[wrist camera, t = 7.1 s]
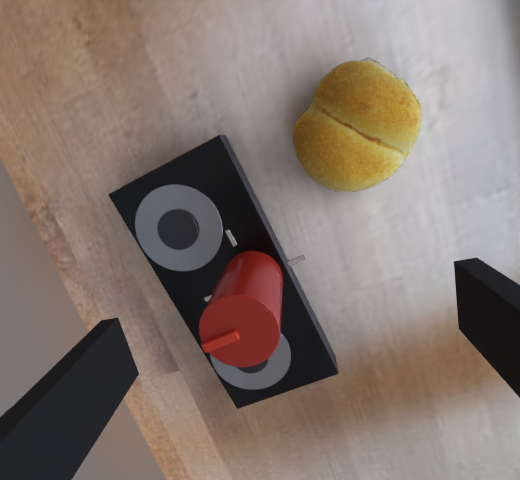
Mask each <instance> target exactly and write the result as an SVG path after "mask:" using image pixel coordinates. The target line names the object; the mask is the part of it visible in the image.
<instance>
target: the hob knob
mask: <svg viewBox="0 0 520 480" xmlns="http://www.w3.org/2000/svg"><path fill="white" fill-rule="evenodd" d="M282 289H283V275H282V271H281V269H280V267H279V265H278V264H277V262H276V261H275V260H274V259H273V258H272V257H270V256H269V255H267V254H265V253H262V252H258V251H246V252H242V253H239V254H238V255H236V256H234V257H233V258H232V259H231V260H230V261H229V262H228V264H227V266H226V267H225V269H224V271H223V273H222V275H221V278H220V280H219V282H218V284H217V286H216V288H215V290H214V292H213V294H212V296H211V298H210V300H209V302H208V304H207V306H206V308H205V310H204V312H203V314H202V316H201V318H200V323H199V334H200V338H201V341H202V345H201V346H202V348H203V350H204V351H205V353H207V352H209V353H210V354H211V355H212V356H213V357H214V358H215V359H217V360H218V361H220V362H222V363H224V364H227V365H230V366H235V367H250V366H254V365H257V364H260V363H262V362H264V361H265V360H267V359H268V358H269V357H270V356H271V355H272V354H273V353H274V351H275V350H276V348H277V346H278V344H279V341H280V331H281V310H282Z"/></svg>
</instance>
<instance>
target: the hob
mask: <svg viewBox="0 0 520 480" xmlns="http://www.w3.org/2000/svg"><path fill="white" fill-rule="evenodd" d="M170 184H182V185H187V186H191V187H193V188H196V189H198V190H199V191H201V192H203V193H204V194H205V195H207V196H208V197H209V198H210V199H211V200H212V202H213V203H214V204H215V206H216V207H217V209H218V211H219V213H220V215H221V218H222V222H223V240H222V244H221V246H220V249H219V250H218V252H217V254H216V255H215V256H214V258H213V259H212V260H211V261H210V262H208V263H207V264H206V265H204V266H202V267H200V268H198V269H195V270H191V271H175V270H171V269H168V268H165V267H163V266H161V265H159V264H157V263H156V262H155V261H153V260H152V259H151V258H150V257H149V256H148V255H147V254H146V253H145V251H144V250H143V249H142V247H141V245H140V243H139V241H138V238H137V235H136V230H135V218H136V213H137V210H138V208H139V205H140V204H141V202H142V201H143V199H144V198H145V197H146V196H147V195H148V194H149V193H150V192H152V191H153V190H155V189H157V188H159V187H162V186H165V185H170ZM109 197H110V198H111V200H112V202H113V203H114V205H115V207H116V208H117V210H118V212H119V213H120V215H121V217H122V218H123V220H124V222H125V223H126V225H127V227H128V228H129V230H130V232H131V233H132V235H133V236H134V238H135V240H136V241H137V243H138V245H139V246H140V248H141V250H142V251H143V253H144V255H145V256H146V258H147V260H148V261H149V263H150V265H151V266H152V268H153V270H154V271H155V273H156V275H157V276H158V278H159V280H160V281H161V283H162V285H163V286H164V288H165V290H166V291H167V293H168V295H169V296H170V298H171V300H172V301H173V303H174V305H175V306H176V308H177V310H178V311H179V313H180V314H181V316H182V318H183V319H184V321H185V323H186V324H187V326H188V328H189V329H190V331H191V333H192V334H193V336H194V338H195V339H196V341H197V343H198V344H199V346H200V348H201V349H202V351H203V353H204V354H205V356H206V358H207V359H208V361H209V363H210V364H211V366H212V368H213V369H214V371H215V373H216V374H217V376H218V378H219V379H220V381H221V383H222V384H223V386H224V388H225V389H226V391H227V393H228V394H229V396H230V397H231V399H232V401H233V402H234V404H235V406H236V407H237V409H238V408H241V407H244V406H247V405H249V404H252V403H255V402H258V401H261V400H264V399H267V398H270V397H272V396H275V395H278V394H281V393H284V392H287V391H290V390H293V389H295V388H298V387H301V386H304V385H307V384H310V383H313V382H316V381H318V380H321V379H324V378H327V377H330V376H333V375H336V374H338V373H339V372H338V367H337V362H336V357H335V354H334V352H333V350H332V348H331V346H330V344H329V342H328V340H327V338H326V336H325V334H324V332H323V330H322V328H321V326H320V324H319V322H318V320H317V318H316V316H315V314H314V312H313V310H312V308H311V306H310V304H309V302H308V300H307V298H306V296H305V294H304V292H303V290H302V288H301V286H300V284H299V282H298V280H297V278H296V276H295V274H294V272H293V270H292V268H291V266H290V265H293V264H295V263H297V262H300V261H302V260H304V259H305V257H304V255H301V256H299V257H297V258H294V259H292V260H290V261H288V260H287V258H286V256H285V254H284V252H283V250H282V248H281V246H280V244H279V242H278V240H277V238H276V236H275V234H274V232H273V230H272V228H271V226H270V224H269V222H268V220H267V218H266V216H265V214H264V211H263V209H262V207H261V205H260V203H259V201H258V199H257V197H256V195H255V193H254V191H253V189H252V187H251V185H250V183H249V181H248V179H247V177H246V175H245V173H244V171H243V169H242V167H241V165H240V163H239V161H238V159H237V157H236V155H235V153H234V151H233V149H232V147H231V145H230V143H229V141H228V139H227V137H226V135H218V136H217V137H215V138H213V139H211V140H209V141H207V142H205V143H203V144H202V145H200V146H198V147H196V148H194V149H192V150H190V151H189V152H187V153H185V154H183V155H181V156H179V157H177V158H176V159H174V160H172V161H170V162H168V163H166V164H164V165H162V166H161V167H159V168H157V169H155V170H153V171H151V172H149V173H148V174H146V175H144V176H142V177H140V178H138V179H136V180H134V181H133V182H131V183H129V184H127V185H125V186H123V187H121V188H120V189H118V190H116V191H114V192H112V193H110V194H109ZM246 251H258V252H262V253H265V254H267V255H269V256H270V257H272V258H273V259H274V260H275V261H276V262H277V264H278V265H279V267H280V269H281V271H282V275H283V289H282V310H281V332H282V334H283V335H284V336H285V338H286V339H287V341H288V343H289V346H290V351H291V361H290V365H289V368H288V370H287V372H286V374H285V375H284V376H283V377H282V378H281V380H279V381H278V382H277V383H275V384H273V385H272V386H269V387H266V388H263V389H254V390H252V389H243V388H239V387H237V386H234V385H232V384H230V383H228V382H227V381H225V380H224V379H223V378H222V377H221V376H220V375H219V374H218V373H217V371H216V370H215V368H214V366H213V364H212V361H211V357H210V353H209V352H207V353H205V351H204V350H203V348H202V346H201V345H202V341H201V338H200V334H199V323H200V318H201V316H202V314H203V312H204V310H205V308H206V306H207V304H208V302H209V300H210V298H211V296H212V294H213V292H214V290H215V288H216V286H217V284H218V282H219V280H220V278H221V275H222V273H223V271H224V269H225V267H226V266H227V264H228V262H229V261H230V260H231V259H232V258H233V257H234V256H236V255H238V254H239V253H242V252H246Z"/></svg>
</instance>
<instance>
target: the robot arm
mask: <svg viewBox="0 0 520 480" xmlns="http://www.w3.org/2000/svg"><path fill="white" fill-rule="evenodd" d="M454 268H455V281H456V295H457V309H458V323H459V329H460V331H461V332H462V333H463V334H464V335H465V336H466V337H467V338H468V340H469V341H470V342H471V343H472V344H473V345H474V346H475V348H476V349H477V350H478V351H479V352H480V353H481V354H482V355H483V357H484V358H485V359H486V360H487V361H488V362H489V363H490V364H491V366H492V367H493V368H494V369H495V370H496V371H497V372H498V373H499V375H500V376H501V377H502V378H503V379H504V380H505V381H506V383H507V384H508V385H509V386H510V387H511V388H512V389H513V390H514V392H515V393H516V394H517V395H518V396H519V397H520V285H519V284H517V283H515V282H514V281H512V280H511V279H509V278H508V277H506V276H505V275H503V274H501V273H500V272H498V271H497V270H495V269H494V268H492V267H491V266H489V265H487V264H486V263H484V262H483V261H481V260H480V259H478V258H472V259H466V260H460V261H454ZM138 374H139V373H138V370H137V367H136V365H135V362H134V359H133V357H132V354H131V351H130V348H129V346H128V343H127V340H126V338H125V335H124V332H123V330H122V327H121V324H120V322H119V319H118V318H113V319H107V320H101V321H100V322H99V323H98V324H97V325H96V326H95V327H94V328H93V329H92V330H91V331H90V332H89V333H88V334H87V335H86V336H85V337H84V338H83V339H82V340H81V341H80V342H79V343H78V344H77V345H76V346H74V347H73V348H72V349H71V350H70V352H68V353H67V354H66V355H65V356H64V357H63V358H62V359H61V360H60V361H59V362H58V363H57V364H56V365H55V366H54V367H53V368H52V369H51V370H50V371H49V372H48V373H47V374H46V375H45V376H44V377H43V378H42V379H40V381H39V382H38V383H36V384H35V385H34V386H33V387H32V388H31V389H30V390H29V391H28V392H27V393H26V394H25V395H24V396H23V397H22V398H21V399H20V400H19V401H18V402H17V403H16V404H15V405H14V406H13V407H11V408H10V409H9V410H7V411H6V412H5V413H4V414H3V415H2V416H1V417H0V480H71V479H72V478H73V476H74V475H75V473H76V472H77V470H78V468H79V467H80V465H81V464H82V462H83V461H84V459H85V457H86V456H87V454H88V453H89V451H90V450H91V448H92V447H93V445H94V443H95V442H96V440H97V439H98V437H99V436H100V434H101V432H102V431H103V429H104V428H105V426H106V425H107V423H108V421H109V420H110V418H111V417H112V415H113V414H114V412H115V410H116V409H117V407H118V406H119V404H120V403H121V401H122V400H123V398H124V396H125V395H126V393H127V392H128V390H129V389H130V387H131V385H132V384H133V382H134V381H135V379H136V378H137V376H138Z"/></svg>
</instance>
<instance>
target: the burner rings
mask: <svg viewBox="0 0 520 480" xmlns="http://www.w3.org/2000/svg"><path fill="white" fill-rule="evenodd" d="M135 230H136V235H137V238H138V241H139V243H140V245H141V247H142V249H143V250H144V251H145V253H146V254H147V255H148V256H149V257H150V258H151V259H152V260H153V261H155V262H156V263H157V264H159V265H161V266H163V267H165V268H168V269H171V270H175V271H191V270H195V269H198V268H200V267H202V266H204V265H206V264H207V263H208V262H210V261H211V260H212V259H213V258H214V256H215V255H216V254H217V252H218V250H219V249H220V246H221V244H222V240H223V222H222V218H221V215H220V213H219V211H218V209H217V207H216V206H215V204H214V203H213V202H212V200H211V199H210V198H209V197H208V196H207V195H205V194H204V193H203V192H201V191H199V190H198V189H196V188H193V187H191V186H187V185H182V184H170V185H165V186H162V187H159V188H157V189H155V190H153V191H152V192H150V193H149V194H148V195H147V196H146V197H145V198H144V199H143V201H142V202H141V204H140V205H139V208H138V210H137V213H136V218H135ZM210 357H211V361H212V364H213V366H214V368H215V370H216V371H217V373H218V374H219V375H220V376H221V377H222V378H223V379H224V380H225V381H227V382H228V383H230V384H232V385H234V386H237V387H239V388H243V389H252V390H254V389H263V388H266V387H269V386H272V385H273V384H275V383H277V382H278V381H279V380H281V378H282V377H283V376H284V375H285V374H286V372H287V370H288V368H289V365H290V361H291V351H290V346H289V343H288V341H287V339H286V338H285V336H284V335H283V334H282V332H281V331H280V341H279V344H278V346H277V348H276V350H275V351H274V353H273V354H272V355H271V356H270V357H269V358H268V359H267V360H265V361H264V362H262V363H260V364H257V365H254V366H250V367H235V366H230V365H227V364H224V363H222V362H220V361H218V360H217V359H215V358H214V357H213V356H212V355H211V354H210Z"/></svg>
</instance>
